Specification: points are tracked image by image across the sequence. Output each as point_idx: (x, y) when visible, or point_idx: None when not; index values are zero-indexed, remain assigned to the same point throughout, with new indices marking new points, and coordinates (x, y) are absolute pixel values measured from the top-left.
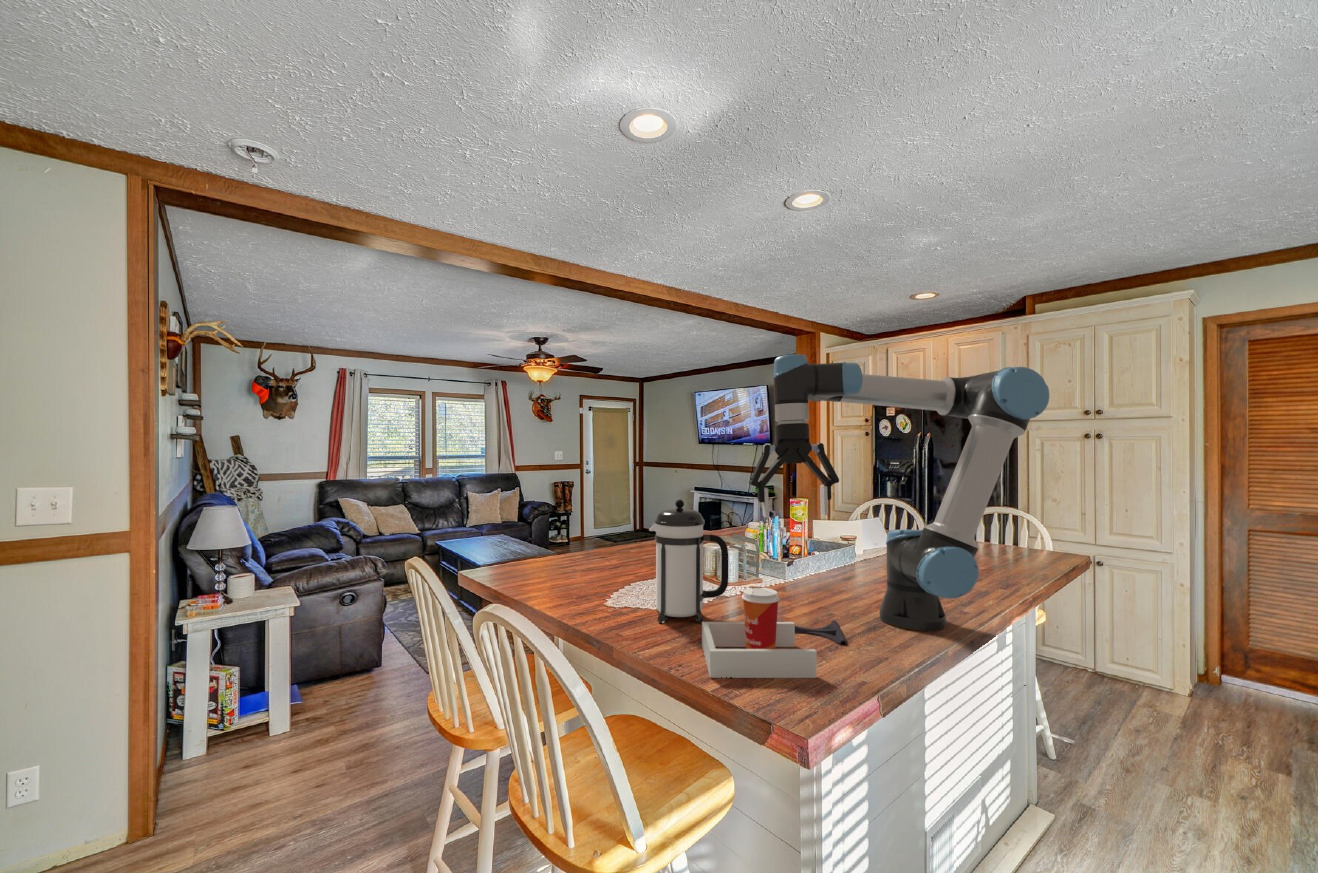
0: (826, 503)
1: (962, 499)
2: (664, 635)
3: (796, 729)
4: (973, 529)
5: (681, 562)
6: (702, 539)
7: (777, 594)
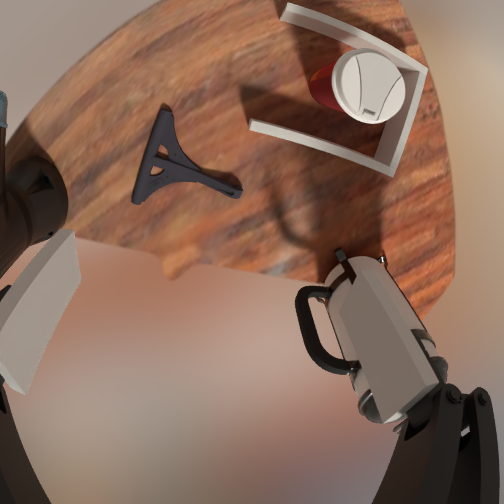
0: (34, 265)
1: None
2: (400, 215)
3: None
4: None
5: (402, 308)
6: None
7: (346, 60)
